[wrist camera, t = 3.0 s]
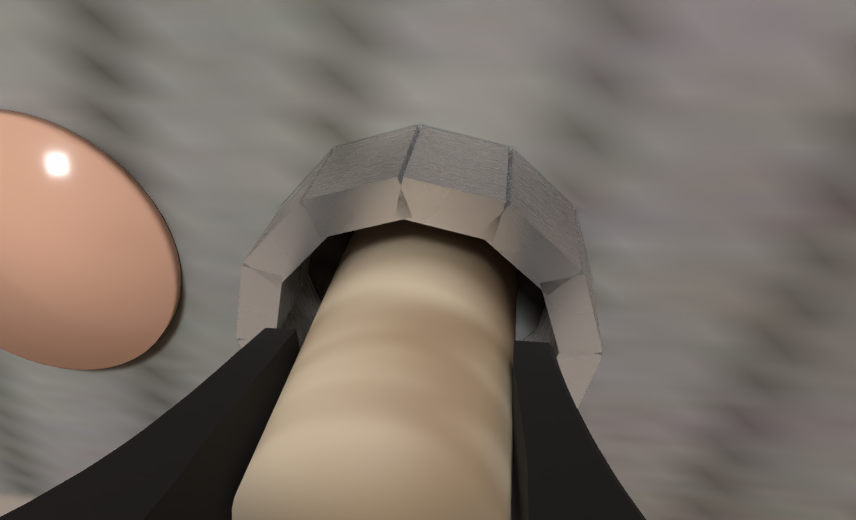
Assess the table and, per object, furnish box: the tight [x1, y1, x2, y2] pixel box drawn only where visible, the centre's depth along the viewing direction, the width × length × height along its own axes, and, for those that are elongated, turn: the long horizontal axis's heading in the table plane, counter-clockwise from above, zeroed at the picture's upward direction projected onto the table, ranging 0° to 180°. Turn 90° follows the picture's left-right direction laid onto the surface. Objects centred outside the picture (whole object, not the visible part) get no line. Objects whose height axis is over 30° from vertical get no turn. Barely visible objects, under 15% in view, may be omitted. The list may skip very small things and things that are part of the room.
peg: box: [232, 219, 517, 520], centre depth 13 cm, size 4×4×7 cm
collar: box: [236, 125, 603, 409], centre depth 14 cm, size 7×7×2 cm
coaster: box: [0, 110, 181, 370], centre depth 16 cm, size 7×7×1 cm
